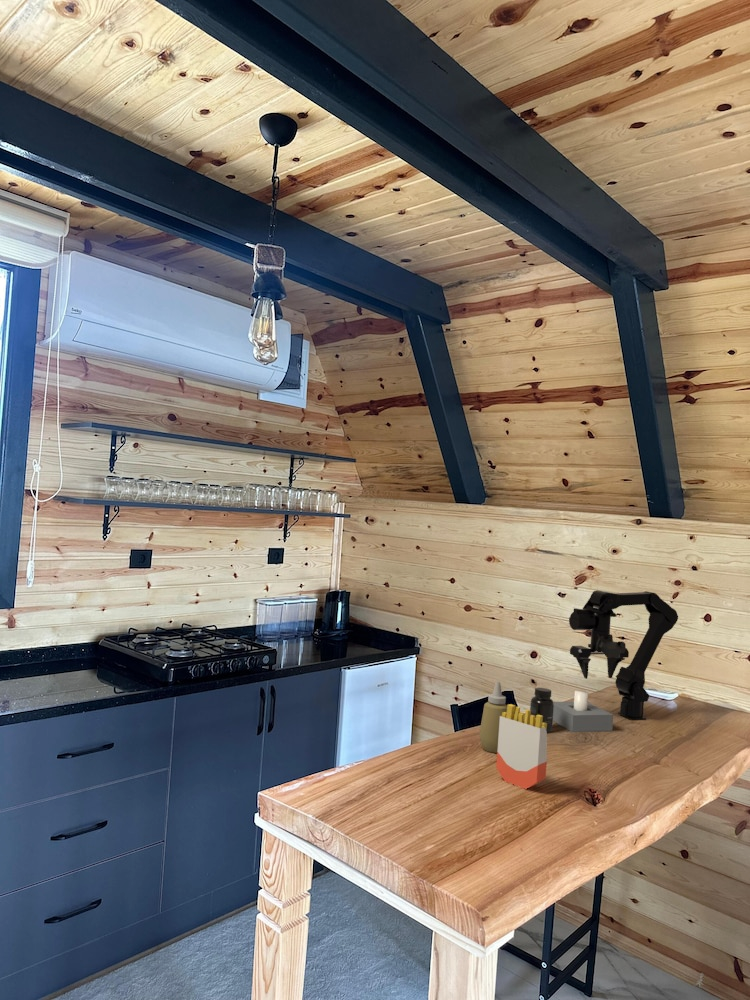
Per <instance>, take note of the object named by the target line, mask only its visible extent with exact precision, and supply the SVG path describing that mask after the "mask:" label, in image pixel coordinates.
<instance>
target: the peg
mask: <svg viewBox="0 0 750 1000" xmlns="http://www.w3.org/2000/svg"><path fill="white" fill-rule="evenodd" d="M588 699H589V692H587V691H584V690H574V697H573V702H574V709H575V710H577V711H587V702H588Z"/></svg>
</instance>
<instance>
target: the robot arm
mask: <svg viewBox="0 0 750 1000" xmlns="http://www.w3.org/2000/svg"><path fill="white" fill-rule="evenodd" d="M642 605H644V607H645V610H646V611H647V612H648V613H649V616H648V628H647V631H646V633H645V635H644V637H643V638H642V641H641V643H640V645H639V646H638V648H637V651H636V653H635V654H634V656H633V658H632V660H631V661H630V664H629V665H628V666H627V667H624V666H621V667H620V668H619V671H618V673H617V674H616V675H615V679H616V680H615V686H616V688H617V692H618V695H620V696H621V701H620V711H619V712H617V714H618V715H619V714H620V716H622V717H624V718H626V719H628V720H630V719H635V720H647V717H646V716H644V706H645V705H644V704H645V702H646V703H647V702H648V701H649V698H650V694H649V693H648V692H647V691H646V689H645V688H644V687H645V682H646V677H645V675H646V674H645V672H646V670H647V668H648V666H649V664H650V662H651V660H652V658H653V656H654V654H655V652H656V651H657V649H658V646H659V645H660V642H661V640H662V639H663V637H664V635H665V634H666V633H668V632H669V631H671V630H672V629H673V628H674V627H675V625H676V623H677V622H678V619H679V615H678V612H677V610H676V609H675V608H673V607H671V605H670V604H668V603H667V602H666V601H664V600H663V599H662V598H661V597H660V596H659V595H658V594H657V593H656V592H652V591H642V592H641V591H638V592H622V593H619V592H617V593H615V592H610V591H602V590H598V589H597V590H594V591H592V593H591V594H590V597H589V598H588V600H587V601H586V603H585V605H584V606H583V607H582V608H573V612H572V613H570V616H569V617H568V624H569V626H570V628H571V630H573V631H588V635H590V643H588V644H587V647H586V646H583V645H572V646H571V647H570V648H569V655H572V656H573V658H575V659H576V661H577V663H578V665H579V667H580V671H581V673H582V675H583V677H584V679H585V680H586V679H588V676H589V663H590V661H591V660H592V659H591V658H590V657H591V655H604V656H605V657H606V664H607V677H608V679H612V678H613V676H614V674H615V672H616V669H617V667H618V665H619V663H621V662H622V661H624V660H626V658H629V650H628V648H626V642H625V641H621V640H620V641H614V640H613V638H614V637H613V634H612V633H611V618H616V617H618V615H617V614H616V613H615V612H614V610H615V609H617V608H620V607H623V606H642ZM610 633H611V634H610Z"/></svg>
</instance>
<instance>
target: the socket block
mask: <svg viewBox="0 0 750 1000" xmlns="http://www.w3.org/2000/svg"><path fill="white" fill-rule="evenodd" d="M553 702H554V710H553V722H554V723H556V724H557V725H560V726H561V727H563V728H564V729H567V730H568V731H569V732H570V733H585V732H586V733H589V732H591V733H592V732H593V733H594V732H613V727H614V725H613V724H614V714H613V713H611V712H608V711H607V710H604V709H602V708H601V707H598V706H597V705H594V704H593V703H591V702H587V711H577V710H575V709H574V701H553Z"/></svg>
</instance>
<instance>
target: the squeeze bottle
mask: <svg viewBox="0 0 750 1000" xmlns="http://www.w3.org/2000/svg"><path fill="white" fill-rule="evenodd" d="M487 699H488V701H487V702H485V703H484V705H483V709H482V710H483V712H482V715H481V716H482V717H481V723H480V729H479V739H480V742H481V747H482V749H483V750H484V751H486V752H489V753H495V754H497V751H498V736H499V722H500V716H502V713H503V712H506V713H507V705H508V704H506V699H507V697H506V696H505V695H503V693H502V686H501V682H500V681H495V684H494V687H493V692H492V693H490V694H488V698H487Z"/></svg>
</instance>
